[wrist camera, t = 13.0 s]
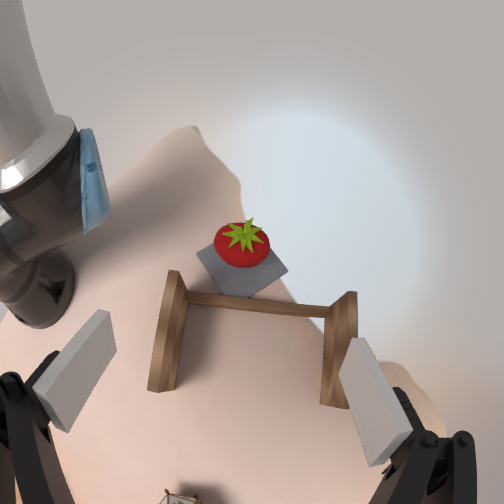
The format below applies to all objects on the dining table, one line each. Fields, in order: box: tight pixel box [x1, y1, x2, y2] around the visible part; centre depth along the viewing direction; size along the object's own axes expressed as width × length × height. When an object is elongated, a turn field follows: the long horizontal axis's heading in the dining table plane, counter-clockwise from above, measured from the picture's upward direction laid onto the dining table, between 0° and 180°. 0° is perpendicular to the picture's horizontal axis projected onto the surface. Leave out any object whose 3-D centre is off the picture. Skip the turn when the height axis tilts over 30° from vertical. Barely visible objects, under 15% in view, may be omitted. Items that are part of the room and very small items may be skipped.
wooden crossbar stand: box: [147, 270, 358, 409], centre depth 32 cm, size 14×22×9 cm, turn 84°
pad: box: [196, 224, 288, 299], centre depth 41 cm, size 10×10×1 cm
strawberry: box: [214, 218, 270, 268], centre depth 36 cm, size 6×8×10 cm
